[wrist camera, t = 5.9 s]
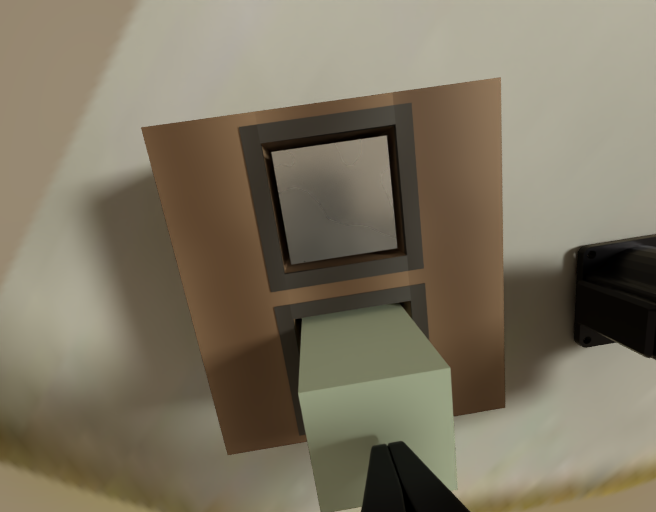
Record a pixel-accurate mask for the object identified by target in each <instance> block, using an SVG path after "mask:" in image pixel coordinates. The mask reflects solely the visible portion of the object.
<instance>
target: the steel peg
mask: <svg viewBox="0 0 656 512" xmlns="http://www.w3.org/2000/svg"><path fill="white" fill-rule="evenodd" d="M271 153H272V158H273V164H274V170H275V175H276V181H277V187H278V192H279V198H280V204H281V209H282V215H283V221H284V226H285V232H286V238H287V243H288V249H289V255H290V260H291V265H292V264H298V263H304V262H311V261H317V260H324V259H330V258H337V257H343V256H350V255H356V254H363V253H369V252H376V251H382V250H389V249H395V248H397V239H396V229H395V218H394V208H393V197H392V186H391V176H390V165H389V154H388V144H387V136H380V137H373V138H366V139H359V140H352V141H345V142H338V143H331V144H324V145H317V146H310V147H303V148H296V149H289V150H282V151H275V152H271Z"/></svg>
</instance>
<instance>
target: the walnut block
mask: <svg viewBox="0 0 656 512" xmlns="http://www.w3.org/2000/svg"><path fill="white" fill-rule="evenodd" d="M141 129H142V133H143V137H144V140H145V144H146V148H147V152H148V155H149V159H150V163H151V167H152V171H153V174H154V178H155V182H156V186H157V189H158V193H159V197H160V201H161V205H162V208H163V212H164V216H165V220H166V223H167V227H168V231H169V235H170V239H171V242H172V246H173V250H174V254H175V258H176V261H177V265H178V269H179V273H180V276H181V280H182V284H183V288H184V292H185V295H186V299H187V303H188V307H189V310H190V314H191V318H192V322H193V326H194V329H195V333H196V337H197V341H198V344H199V348H200V352H201V356H202V360H203V363H204V367H205V371H206V375H207V378H208V382H209V386H210V390H211V394H212V397H213V401H214V405H215V409H216V412H217V416H218V420H219V424H220V428H221V431H222V435H223V439H224V443H225V447H226V450H227V454H228V455H232V454H238V453H243V452H249V451H255V450H261V449H267V448H273V447H278V446H284V445H290V444H296V443H302V442H307V437H306V432H305V427H304V422H303V416H302V411H301V406H300V401H299V395H298V386H299V367H300V347H301V328H302V318H305V317H311V316H318V315H324V314H330V313H336V312H343V311H349V310H355V309H361V308H368V307H374V306H380V305H386V304H393V303H400V305H401V306H402V307H403V308H404V310H405V311H406V312H407V313H408V315H409V316H410V317H411V319H412V320H413V321H414V322H415V324H416V325H417V326H418V327H419V329H420V330H421V331H422V332H423V334H424V335H425V336H426V338H427V339H428V340H429V341H430V343H431V344H432V345H433V346H434V348H435V349H436V350H437V351H438V353H439V354H440V355H441V357H442V358H443V359H444V360H445V362H446V363H447V364H448V365H449V367H450V369H451V386H452V403H453V416H459V415H465V414H471V413H477V412H482V411H488V410H494V409H500V408H505V359H504V285H503V210H502V136H501V77H500V78H493V79H486V80H479V81H471V82H464V83H457V84H450V85H443V86H436V87H428V88H421V89H414V90H407V91H400V92H393V93H385V94H378V95H371V96H364V97H357V98H350V99H342V100H335V101H328V102H321V103H314V104H307V105H299V106H292V107H285V108H278V109H271V110H264V111H256V112H249V113H242V114H235V115H228V116H221V117H213V118H206V119H199V120H192V121H185V122H178V123H170V124H163V125H156V126H149V127H142V128H141ZM380 136H387V144H388V154H389V165H390V176H391V186H392V197H393V208H394V218H395V229H396V239H397V248H395V249H389V250H382V251H376V252H369V253H363V254H356V255H350V256H343V257H337V258H330V259H324V260H317V261H311V262H304V263H298V264H292V265H291V260H290V255H289V249H288V243H287V238H286V232H285V226H284V221H283V215H282V209H281V204H280V198H279V192H278V187H277V181H276V175H275V170H274V164H273V158H272V153H271V152H275V151H282V150H289V149H296V148H303V147H310V146H317V145H324V144H331V143H338V142H345V141H352V140H359V139H366V138H373V137H380Z"/></svg>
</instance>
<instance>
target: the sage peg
mask: <svg viewBox="0 0 656 512" xmlns="http://www.w3.org/2000/svg"><path fill="white" fill-rule="evenodd" d="M298 395H299V401H300V406H301V411H302V416H303V422H304V427H305V432H306V437H307V443H308V448H309V453H310V458H311V464H312V469H313V474H314V479H315V485H316V490H317V495H318V500H319V506H320V511H321V512H335V511H340V510H346V509H352V508H357V507H362V503H363V497H364V490H365V484H366V478H367V471H368V465H369V458H370V452H371V447H372V446H373V445H379V444H387V446H388V444H389V443H390V442H396V441H403V442H405V443H406V445H407V446H408V447H409V448H410V449H411V450H412V451H413V452H414V453H415V454H416V455H417V456H418V457H419V458H420V459H421V460H422V461H423V462H424V464H425V465H426V466H427V467H428V468H429V469H430V470H431V471H432V472H433V473H434V474H435V475H436V476H437V477H438V478H439V479H440V480H441V481H442V483H443V484H444V485H445V486H446V487H447V488H448V489H449V490H450V491H452V490H458V488H457V471H456V454H455V437H454V420H453V403H452V386H451V369H450V367H449V365H448V364H447V363H446V362H445V360H444V359H443V358H442V357H441V355H440V354H439V353H438V351H437V350H436V349H435V348H434V346H433V345H432V344H431V343H430V341H429V340H428V339H427V338H426V336H425V335H424V334H423V332H422V331H421V330H420V329H419V327H418V326H417V325H416V324H415V322H414V321H413V320H412V319H411V317H410V316H409V315H408V313H407V312H406V311H405V310H404V308H403V307H402V306H401V305H400V303H393V304H386V305H380V306H374V307H368V308H361V309H355V310H349V311H343V312H336V313H330V314H324V315H318V316H311V317H305V318H302V328H301V347H300V367H299V386H298Z"/></svg>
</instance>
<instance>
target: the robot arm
mask: <svg viewBox="0 0 656 512" xmlns="http://www.w3.org/2000/svg"><path fill="white" fill-rule="evenodd" d="M589 252H590V254H589V256H588V253H589ZM584 338H585V339H584ZM574 341H575V342H576V343H577V344H579V345H580V346H582V347H592V346H598V345H604V344H610V343H618V344H620V345H622V346H624V347H626V348H628V349H630V350H632V351H634V352H636V353H638V354H640V355H642V356H644V357H647V358H653V359H655V360H656V234H655V235H649V236H642V237H636V238H630V239H623V240H617V241H611V242H604V243H598V244H591V245H586V246H583V247H582V248H580V250H579V251H578V258H577V281H576V304H575V327H574ZM361 512H470V511H469V510H468V509H467V508H466V507H465V506H464V505H463V504H462V503H461V502H460V501H459V499H458V498H457V497H456V496H455V495H454V494H453V493H452V492H451V491H450V490H449V489H448V488H447V487H446V486H445V485H444V484H443V483H442V481H441V480H440V479H439V478H438V477H437V476H436V475H435V474H434V473H433V472H432V471H431V470H430V469H429V468H428V467H427V466H426V465H425V464H424V462H423V461H422V460H421V459H420V458H419V457H418V456H417V455H416V454H415V453H414V452H413V451H412V450H411V449H410V448H409V447H408V446H407V445H406V443H405V442H403V441H396V442H390V443H389V444H388V446H387V444H379V445H373V446H372V447H371V452H370V458H369V465H368V471H367V478H366V484H365V490H364V497H363V503H362V510H361Z"/></svg>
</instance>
